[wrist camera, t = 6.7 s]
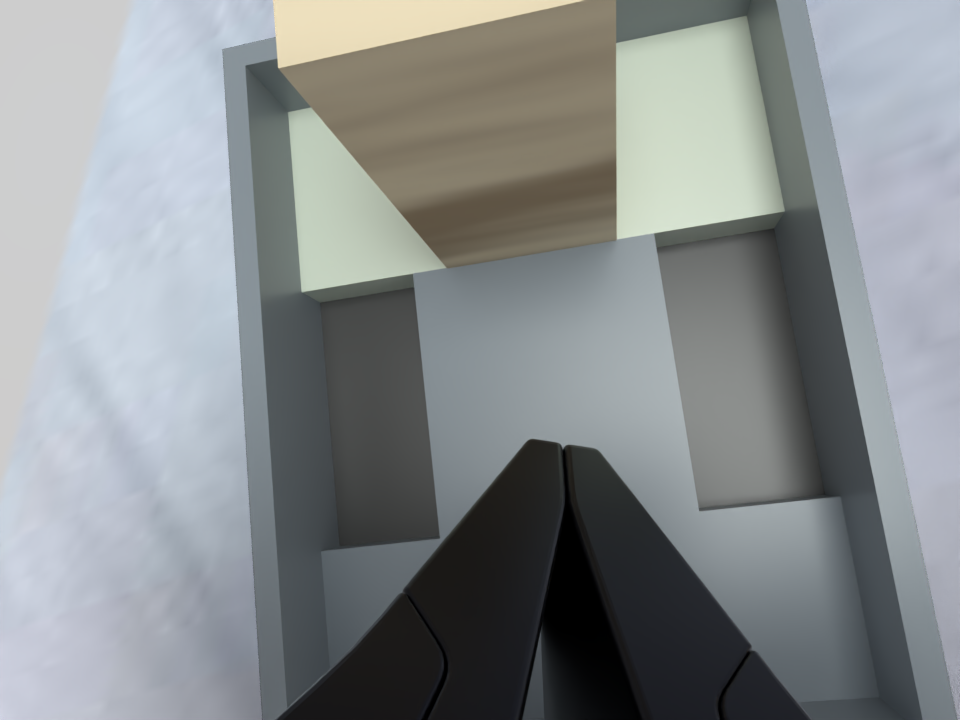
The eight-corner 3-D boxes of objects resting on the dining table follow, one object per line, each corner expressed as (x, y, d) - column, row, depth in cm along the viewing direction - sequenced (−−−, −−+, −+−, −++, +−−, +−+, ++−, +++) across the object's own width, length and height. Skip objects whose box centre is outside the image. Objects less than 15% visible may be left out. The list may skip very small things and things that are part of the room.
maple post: (616, 240, 19) (616, -7, 9) (447, 268, 20) (277, 67, 10) (592, 80, 20) (567, -307, 10) (429, 113, 20) (257, -216, 11)
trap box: (890, 702, 17) (968, 770, 14) (336, 736, 20) (267, 802, 16) (756, 23, 20) (788, -81, 17) (289, 121, 23) (222, 49, 19)
